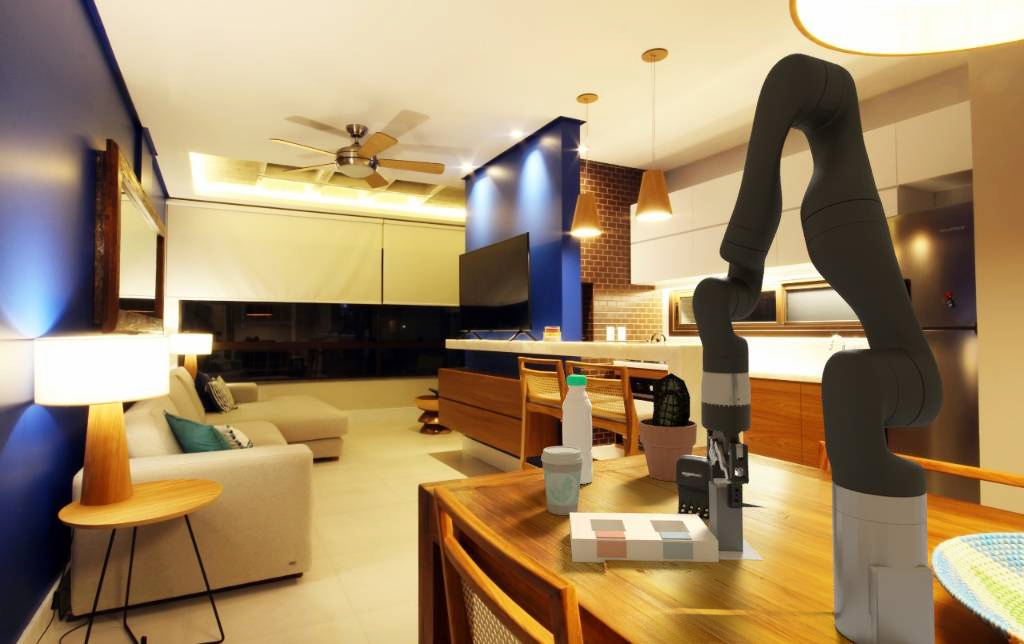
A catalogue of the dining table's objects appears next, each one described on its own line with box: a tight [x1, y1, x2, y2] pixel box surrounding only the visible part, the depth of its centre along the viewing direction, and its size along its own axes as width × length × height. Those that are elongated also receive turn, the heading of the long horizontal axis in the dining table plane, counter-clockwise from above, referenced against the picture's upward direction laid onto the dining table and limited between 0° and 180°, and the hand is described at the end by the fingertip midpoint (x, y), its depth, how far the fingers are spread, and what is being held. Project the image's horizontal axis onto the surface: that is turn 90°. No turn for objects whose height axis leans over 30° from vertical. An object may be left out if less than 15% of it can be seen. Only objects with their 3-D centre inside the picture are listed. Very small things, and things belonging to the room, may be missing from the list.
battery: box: [675, 454, 713, 520], centre depth 103 cm, size 7×4×11 cm, turn 54°
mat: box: [718, 537, 764, 561], centre depth 88 cm, size 10×8×1 cm
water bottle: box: [561, 374, 594, 485], centre depth 129 cm, size 7×7×25 cm
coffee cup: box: [540, 445, 584, 516], centre depth 108 cm, size 9×8×12 cm
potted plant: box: [638, 372, 698, 482], centre depth 132 cm, size 14×14×25 cm
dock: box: [569, 512, 720, 564], centre depth 89 cm, size 12×22×4 cm, turn 86°
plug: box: [709, 478, 744, 552], centre depth 88 cm, size 4×4×11 cm
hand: (726, 498), depth 89 cm, fingers open, 8 cm apart
